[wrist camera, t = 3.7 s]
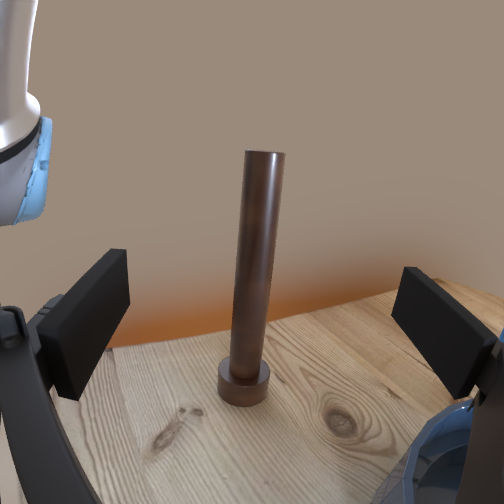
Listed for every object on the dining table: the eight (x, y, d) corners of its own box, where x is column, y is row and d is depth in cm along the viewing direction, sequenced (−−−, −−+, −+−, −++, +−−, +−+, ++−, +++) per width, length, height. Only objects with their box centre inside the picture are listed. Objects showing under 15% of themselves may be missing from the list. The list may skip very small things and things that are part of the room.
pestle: (211, 399, 25) (222, 147, 18) (225, 369, 29) (241, 147, 22) (261, 411, 24) (296, 154, 17) (270, 379, 28) (301, 154, 22)
